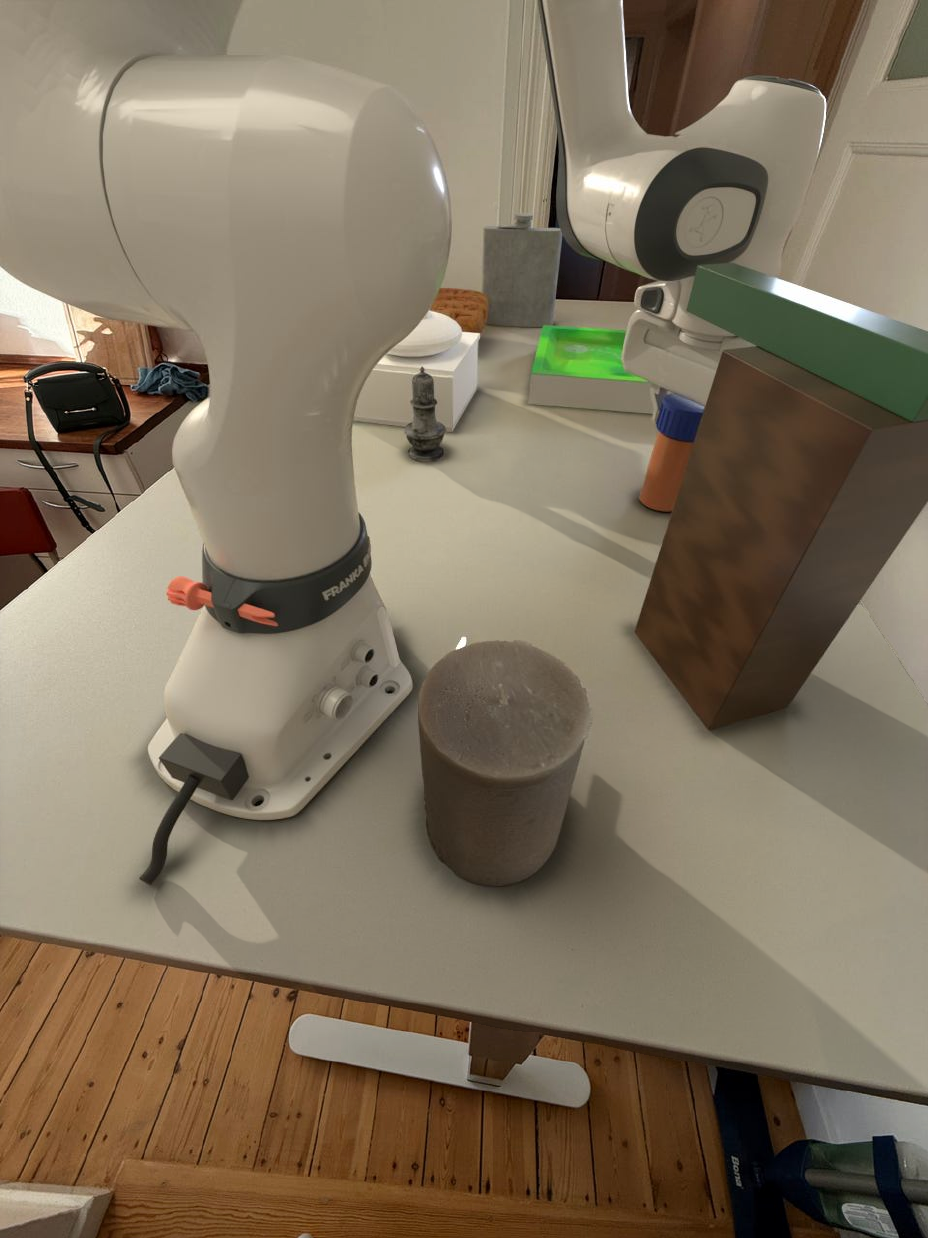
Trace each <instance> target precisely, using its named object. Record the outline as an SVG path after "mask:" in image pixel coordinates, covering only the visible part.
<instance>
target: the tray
mask: <svg viewBox="0 0 928 1238" xmlns="http://www.w3.org/2000/svg"><path fill="white" fill-rule="evenodd" d="M626 331H627V329H615V328H614V329H613V328H612V329H611V328H597V327H596V328H595V327H582V326H567V325H566V326H565V325H552V326H550V325H543V327H541V332H540V335H539V340H538V344H537V348H536V352H535V356H534V360H533V363H532V368H531V373H530V382H529V393H528V405H535V406H536V405H537V406H547V407H549V406H551V407H561V408H562V407H563V408H574V409H587V410H599V411H612V412H622V413H623V412H624V413H634V414H635V413H636V414H637V413H638V414H648V415H649V414H650V415H653V411H654V408H653V404H652V399H651V395H650V387H651V382H648V381H646V380H644V379H642V378H639V377H637V376H635V375H633V374H631V373H628V372H626V371H625V370H624V367H623V364H622V351H623V345H624V340H625V335H626ZM671 393H673V392H671V391H667V395H668V394H671Z"/></svg>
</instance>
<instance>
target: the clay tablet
mask: <svg viewBox="0 0 928 1238" xmlns="http://www.w3.org/2000/svg"><path fill="white" fill-rule="evenodd" d="M429 310H430V311H433V312H437V313H440V314H443V315H446V316H448V317H450V318H452V319H453V320H455V321H456V322H457V323H458V324H459V326H460V327H461V329H462V332H470V333H480V336H481V335H482V333H483V331H484V328H485V326H486V324H485V323H486V321H487V317H488V310H489V300H488V297H487V296H486V295H484V294H483V293H482V291H478V290H473V289H464V288H452V287H440V290H439V292H438V294H437V297H436V298H435V300H434V302H433V304H432V306H431V308H430V309H429Z"/></svg>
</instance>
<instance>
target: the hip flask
mask: <svg viewBox="0 0 928 1238" xmlns="http://www.w3.org/2000/svg"><path fill="white" fill-rule="evenodd" d="M513 218H514V220H515V222H514V224H499V225H498V226H496V225H484V226H483V229H482V230H483V231H482V233H483V234H482V268H481V269H482V270H481V271H482V272H481V273H482V274H481V293H483V294H484V295H486V296H487V297H488V300H489V310H488V317H487V321H486V323H485V325H491V326H501V327H519V328H543V325H550V326H554V316H555V306H556V297H557V296H556V295H557V290H558V289H557V287H558V281H559V279H558V278H559V270H560V260H561V252H562V242H563V234H562V232H561V230H560V227H532V221H533V220H534V219H533V218H534V214H532V213H529V212H521V213H520V212H518V213H515V214H514V217H513Z"/></svg>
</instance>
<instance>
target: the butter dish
mask: <svg viewBox="0 0 928 1238" xmlns="http://www.w3.org/2000/svg"><path fill="white" fill-rule="evenodd" d="M480 339H481V335H480V333H470V332H462V329H461V327H460V326H459V324H458V323H457V322H456V321H455V320H453V319H452V318H450V317H448V316H446V315H443V314H440V313H437V312H433V311H430V310H429V311H428V313H427V314H426V315H425V317H424V318H423V319H422V321H421V322H420V323H419V325H418V326H417V327H416V328H415V329H414V330H413V331H412V332H411V333H410V334H409V335H408V336H407V337H406V338H405V339H404V340H402V341H401V342H400V343H398V344H397V345H396V346H394V347H393V348H392V349H391V350H390V351H389V352H388V353H387V354H386V355H384V356H383V357H382V359H381V360H380V361H379V362H378V363H377V365H376V366H375V367H374V368H373V370H372V372H371V373H370V375H369V376H368V378H367V380H366V382H365V384H364V386H363V388H362V390H361V393H360V395H359V398H358V401H357V405H356V409H355V413H354V418H353V422H360V423H361V422H362V423H370V424H379V425H388V426H395V427H404V428H405V426H406V425H407V424H409V423H411V422H413V406H412V405H411V404H410V401H411V400H412V399H413V393H412V378H413V377H414V376H415V375H416V374H418V373H420V372H421V371H420V369H421V367H423V368H424V369H425V371H424V372H425V373H427V374H429V375H431V376H432V378H433V380H434V399H436V400H437V404H436V405H435V417H436V421H437V422H440V423H442V424H443V425H444V426H445V428H446V432H445V433H453V432H454V429H455V427H456V426H457V424H458V423H459V421H460V419H461V418H462V416H463V414H464V412H465V410H466V409H467V407H468V405H469V404H470V402H471V400H472V399H473V397H474V395H475V393H476V392H477V390H478V367H479V341H480Z"/></svg>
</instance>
